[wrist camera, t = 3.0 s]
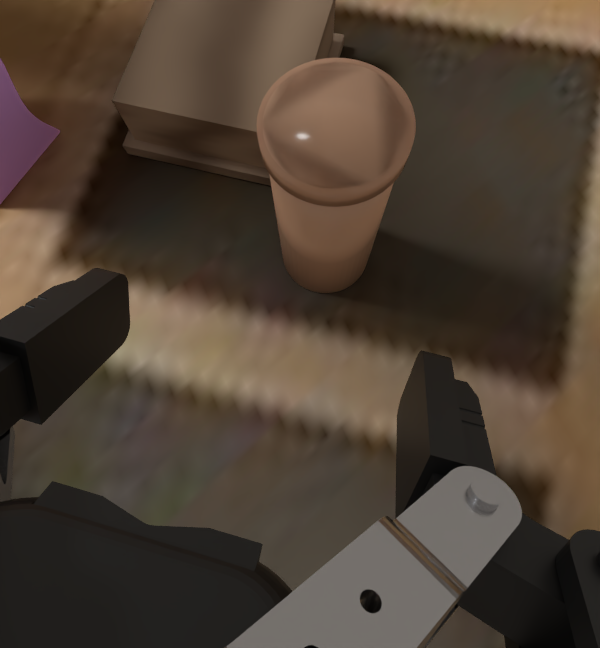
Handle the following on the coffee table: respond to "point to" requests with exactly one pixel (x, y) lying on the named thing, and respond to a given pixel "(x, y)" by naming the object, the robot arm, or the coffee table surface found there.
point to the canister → (332, 164)
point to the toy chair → (18, 136)
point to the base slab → (216, 77)
